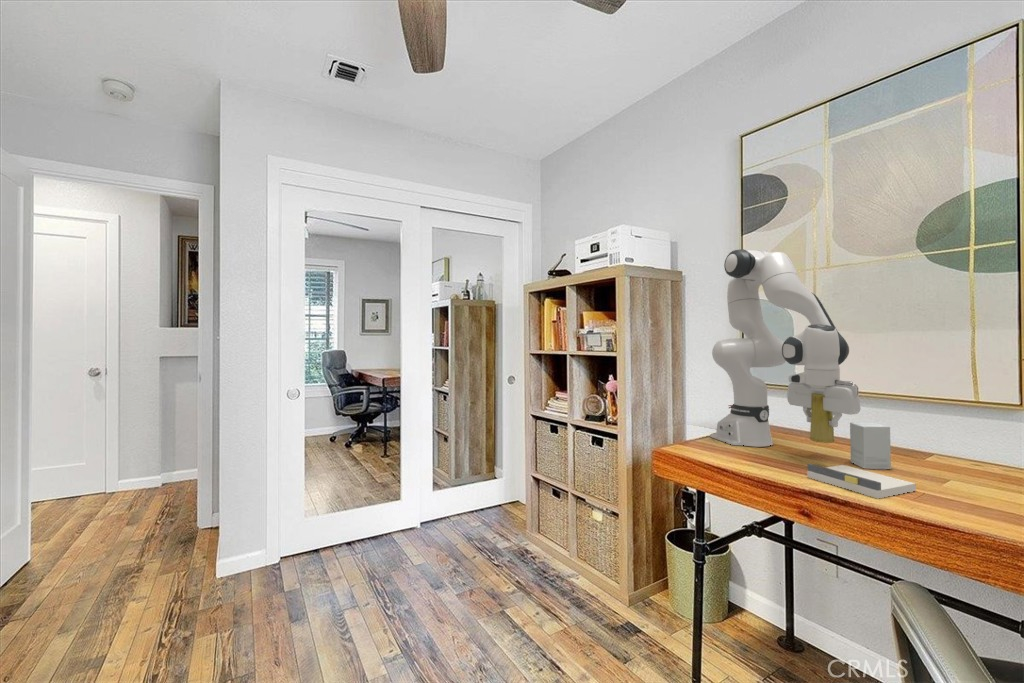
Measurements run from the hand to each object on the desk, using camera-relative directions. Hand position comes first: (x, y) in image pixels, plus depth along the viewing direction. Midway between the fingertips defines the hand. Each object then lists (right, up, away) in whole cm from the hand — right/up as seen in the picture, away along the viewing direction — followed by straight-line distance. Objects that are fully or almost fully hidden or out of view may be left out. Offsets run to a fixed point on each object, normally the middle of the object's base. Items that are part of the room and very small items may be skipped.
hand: (821, 424), depth 135 cm
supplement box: (+15, -13, 0) cm, 20 cm away
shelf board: (-1, -13, -16) cm, 20 cm away
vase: (0, -5, 0) cm, 5 cm away
